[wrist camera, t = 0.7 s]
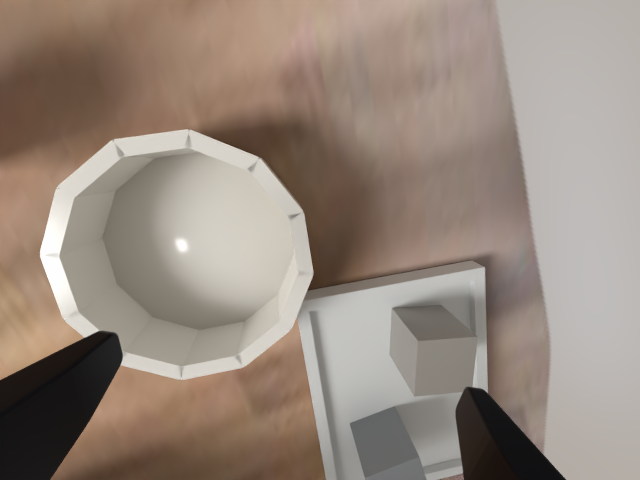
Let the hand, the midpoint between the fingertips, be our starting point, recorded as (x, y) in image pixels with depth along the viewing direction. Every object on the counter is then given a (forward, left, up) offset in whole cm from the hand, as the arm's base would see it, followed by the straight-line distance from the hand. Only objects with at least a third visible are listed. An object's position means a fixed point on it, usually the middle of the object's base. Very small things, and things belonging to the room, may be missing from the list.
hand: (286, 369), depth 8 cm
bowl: (+1, +5, -14) cm, 14 cm away
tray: (-12, -7, -14) cm, 19 cm away
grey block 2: (-8, -8, -13) cm, 17 cm away
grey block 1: (-16, -5, -13) cm, 21 cm away
